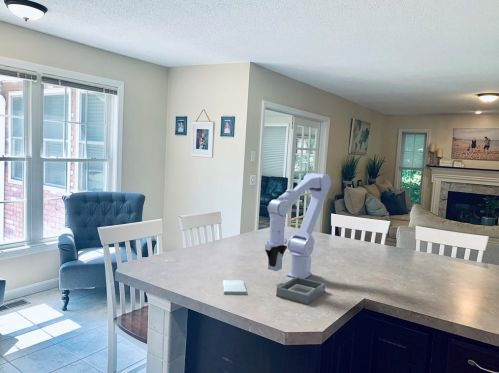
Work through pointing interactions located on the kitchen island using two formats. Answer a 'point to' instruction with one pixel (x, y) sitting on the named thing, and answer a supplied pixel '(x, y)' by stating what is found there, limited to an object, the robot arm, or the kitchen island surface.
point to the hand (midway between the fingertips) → (275, 264)
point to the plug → (278, 263)
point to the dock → (301, 290)
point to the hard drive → (234, 287)
